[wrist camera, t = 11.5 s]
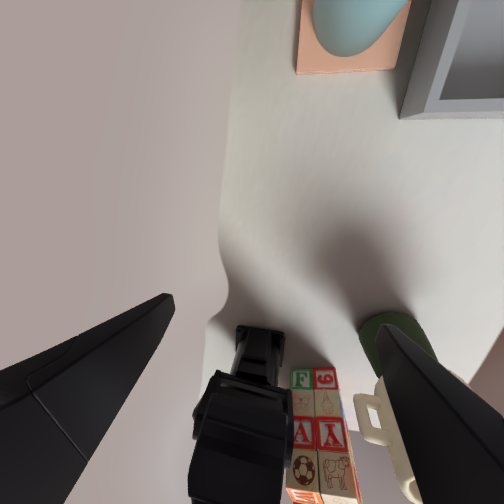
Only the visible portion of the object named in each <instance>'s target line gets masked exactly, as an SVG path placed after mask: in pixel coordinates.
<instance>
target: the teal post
mask: <svg viewBox="0 0 504 504" xmlns="http://www.w3.org/2000/svg"><path fill="white" fill-rule="evenodd" d="M407 1H408V0H313V11H312V20H313V28H314V32H315V35H316V37H317V40H318V42H319V43H320V45H321V46H322V47H323V48H324V49H325V50H326V51H327V52H328V53H330V54H332V55H334V56H338V57H350V56H354V55H357V54H359V53H362V52H363V51H365V50H367V49H368V48H369V47H371V46H372V45H373V44H374V43H375V42H376V41H377V40H378V39H379V38H380V37H381V36H382V34H383V33H384V32H385V30H386V29H387V28H388V26H389V25H390V24H391V22H392V21H393V20H394V18H395V17H396V16H397V14H398V13H399V12H400V10H401V9H402V8H403V6H404V5H405V4H406V2H407Z"/></svg>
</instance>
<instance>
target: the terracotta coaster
mask: <svg viewBox="0 0 504 504" xmlns="http://www.w3.org/2000/svg"><path fill="white" fill-rule="evenodd" d="M411 1H412V0H408V1H407V2H406V4H405V5H404V6H403V8H402V9H401V10H400V12H399V13H398V14H397V16H396V17H395V18H394V20H393V21H392V22H391V24H390V25H389V26H388V28H387V29H386V30H385V32H384V33H383V34H382V36H381V37H380V38H379V39H378V40H377V41H376V42H375V43H374V44H373V45H372V46H371V47H369V48H368V49H367V50H365V51H363V52H362V53H359V54H357V55H354V56H350V57H338V56H334V55H332V54H330V53H328V52H327V51H326V50H325V49H324V48H323V47H322V46H321V45H320V43H319V42H318V40H317V37H316V35H315V32H314V28H313V20H312V11H313V0H302V10H301V22H300V35H299V47H298V59H297V72H296V73H297V74H315V73H335V72H355V71H375V70H392V69H393V68H394V67H395V66H396V62H397V58H398V54H399V50H400V46H401V42H402V37H403V33H404V29H405V25H406V21H407V17H408V13H409V9H410V5H411Z"/></svg>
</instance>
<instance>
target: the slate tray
mask: <svg viewBox="0 0 504 504" xmlns="http://www.w3.org/2000/svg"><path fill="white" fill-rule="evenodd" d="M469 118H504V0H432V1H431V5H430V8H429V12H428V16H427V19H426V23H425V26H424V30H423V34H422V37H421V41H420V44H419V48H418V52H417V55H416V59H415V63H414V66H413V70H412V73H411V77H410V81H409V84H408V88H407V92H406V95H405V99H404V102H403V106H402V110H401V113H400V117H399V119H469Z"/></svg>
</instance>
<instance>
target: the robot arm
mask: <svg viewBox="0 0 504 504" xmlns="http://www.w3.org/2000/svg"><path fill="white" fill-rule="evenodd" d="M174 312H175V304H174V300H173V296H172V295H171V294H167V293H162V294H160V295H158V296H156V297H154V298H152V299H150V300H148V301H146V302H144V303H142V304H140V305H138V306H136V307H134V308H132V309H130V310H128V311H126V312H124V313H122V314H120V315H118V316H115V317H114V318H111V319H110V320H107V321H106V322H104V323H101V324H99V325H97V326H95V327H93V328H91V329H89V330H87V331H85V332H83V333H81V334H79V335H78V336H75V337H73V338H71V339H69V340H67V341H65V342H63V343H60V344H58V345H56V346H54V347H52V348H50V349H48V350H46V351H43V352H41V353H39V354H37V355H35V356H32V357H30V358H28V359H26V360H23V361H21V362H19V363H16V364H14V365H12V366H9V367H7V368H5V369H3V370H0V504H64V502H65V500H66V498H67V497H68V495H69V494H70V492H71V490H72V489H73V487H74V485H75V484H76V482H77V480H78V479H79V477H80V475H81V474H82V472H83V470H84V469H85V467H86V465H87V463H88V461H89V460H90V458H91V457H92V455H93V453H94V452H95V450H96V448H97V447H98V445H99V443H100V442H101V440H102V438H103V437H104V435H105V433H106V432H107V430H108V429H109V427H110V425H111V423H112V422H113V420H114V419H115V417H116V415H117V414H118V412H119V410H120V409H121V407H122V405H123V404H124V402H125V400H126V399H127V397H128V395H129V393H130V392H131V390H132V389H133V387H134V385H135V384H136V382H137V380H138V378H139V377H140V375H141V374H142V372H143V370H144V369H145V367H146V365H147V364H148V362H149V360H150V358H151V357H152V355H153V354H154V352H155V350H156V349H157V347H158V345H159V343H160V342H161V340H162V338H163V336H164V333H165V331H166V329H167V327H168V325H169V323H170V321H171V319H172V317H173V315H174ZM239 329H240V330H239ZM284 341H285V334H284V333H283V332H277V331H271V330H264V329H258V328H252V327H245V326H237V327H236V355H235V358H234V362H233V365H232V368H231V372H230V374H228V373H224V372H221V371H220V370H216V372H215V374H214V376H212V377H211V378H210V380H209V383H208V386H207V388H206V391H205V393H204V395H203V396H202V398H201V399H200V401H199V403H198V404H197V406H196V407H195V409H194V412H193V415H192V417H193V420H194V430H193V437H192V438H193V439H194V440H197V442H196V445H195V449H194V453H193V456H192V460H191V463H190V467H189V473H188V495H189V497H191V500H192V504H280V500H281V494H282V484H283V474H284V468H285V469H289V468H290V465H291V461H292V455H293V446H294V415H293V399H292V390H290V389H283V388H280V387H277V384H278V373H279V367H281V366H282V359H283V350H284ZM375 343H376V348H377V353H378V358H379V362H380V367H381V372H382V377H383V381H384V385H385V388H386V391H387V394H388V398H389V401H390V404H391V407H392V410H393V413H394V416H395V419H396V422H397V425H398V428H399V431H400V434H401V437H402V440H403V444H404V447H405V450H406V453H407V456H408V459H409V462H410V465H411V468H412V471H413V474H414V477H415V480H416V483H417V486H418V490H419V493H420V496H421V499H422V502H423V504H504V418H503V416H502V415H501V414H500V413H498V412H497V411H496V410H495V409H494V408H492V407H491V406H490V405H489V404H488V403H486V402H485V401H484V400H483V399H482V398H481V397H479V396H478V395H477V394H476V393H475V392H473V391H472V390H471V389H470V388H469V387H467V386H466V385H465V384H464V383H463V382H461V381H460V380H459V379H458V378H457V377H456V376H454V375H453V374H452V373H451V372H450V371H448V370H447V369H446V368H445V367H444V366H442V365H441V364H440V363H439V362H438V361H436V360H435V359H434V358H433V357H432V356H430V355H429V354H428V353H427V352H426V351H424V350H423V349H422V348H421V347H420V346H418V345H417V344H416V343H415V342H414V341H412V340H411V339H410V338H409V337H408V336H406V335H405V334H404V333H403V332H402V331H400V330H399V329H398V328H397V327H396V326H394V325H389V324H382V325H381V326H380V329H379V331H378V334H377V336H376V340H375Z"/></svg>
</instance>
